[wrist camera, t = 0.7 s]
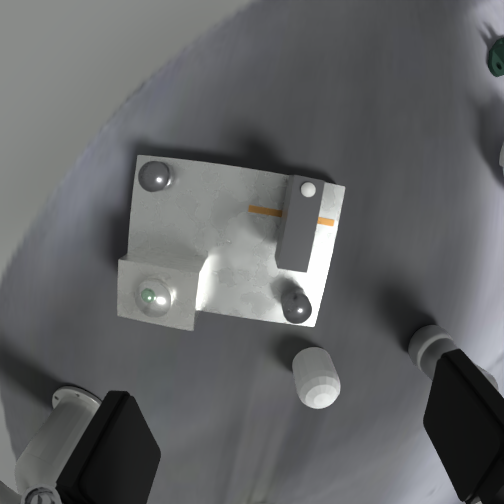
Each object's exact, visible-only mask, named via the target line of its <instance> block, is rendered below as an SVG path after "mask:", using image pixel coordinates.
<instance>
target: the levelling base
mask: <svg viewBox="0 0 504 504" xmlns="http://www.w3.org/2000/svg"><path fill="white" fill-rule="evenodd" d="M288 178H289V175H284V174H278V173H273V172H267V171H261V170H255V169H249V168H242V167H236V166H229V165H222V164H215V163H208V162H200V161H192V160H184V159H175V158H166V157H156V156H146V155H138V156H137V163H136V171H135V178H134V186H133V195H132V204H131V214H130V226H129V239H128V253H127V254H126V255H124V256H123V257H121V258H120V259H119V260H118V301H117V310H118V316H121V317H126V318H130V319H135V320H139V321H144V322H149V323H153V324H158V325H163V326H168V327H173V328H179V329H184V330H189V331H193V330H194V327H195V324H196V322H197V319H198V316H199V314H200V311H207V312H213V313H219V314H225V315H231V316H238V317H244V318H251V319H258V320H265V321H272V322H280V323H287V324H295V325H303V326H312V327H314V325H315V321H316V317H317V313H318V309H319V306H320V302H321V298H322V294H323V289H324V285H325V281H326V277H327V273H328V268H329V264H330V260H331V255H332V251H333V246H334V241H335V237H336V232H337V227H338V222H339V217H340V212H341V207H342V202H343V197H344V191H345V187H344V186H339V185H335V184H330V183H325V185H324V190H323V196H322V201H321V206H320V212H319V217H318V222H317V227H316V232H315V237H314V242H313V247H312V252H311V256H310V261H309V266H308V270H307V273H304V272H297V271H291V270H284V269H278V268H277V265H276V261H275V257H274V256H275V251H276V245H277V240H278V234H279V229H280V223H281V218H282V212H283V207H284V201H285V195H286V190H287V184H288Z"/></svg>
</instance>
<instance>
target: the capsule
mask: <svg viewBox="0 0 504 504" xmlns="http://www.w3.org/2000/svg"><path fill="white" fill-rule="evenodd" d="M292 370H293V375H294V380H295V385H296V390H297V393H298V396H299V398H300V399H301V401H302V402H303V403H304V404H305V405H307V406H309V407H312V408H316V409H317V408H324V407H327V406H329V405H330V404H332V403H333V402H334V401H335V399H336V398H337V396H338V395H339V393H340V381H339V378H338V375H337V373H336V370H335V368H334V365H333V363H332V360H331V358H330V355H329V353H328V352H327V351H325V350H324V349H322V348H319V347H309V348H307V349H304V350H302V351H300V352H299V353H298V354H297V355H296V356H295V358H294V360H293V361H292Z"/></svg>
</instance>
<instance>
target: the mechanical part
mask: <svg viewBox="0 0 504 504" xmlns="http://www.w3.org/2000/svg"><path fill="white" fill-rule="evenodd" d="M499 165H500V166H502V167H503V175H504V142H503V145H502V148H501V152H500V157H499Z"/></svg>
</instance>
